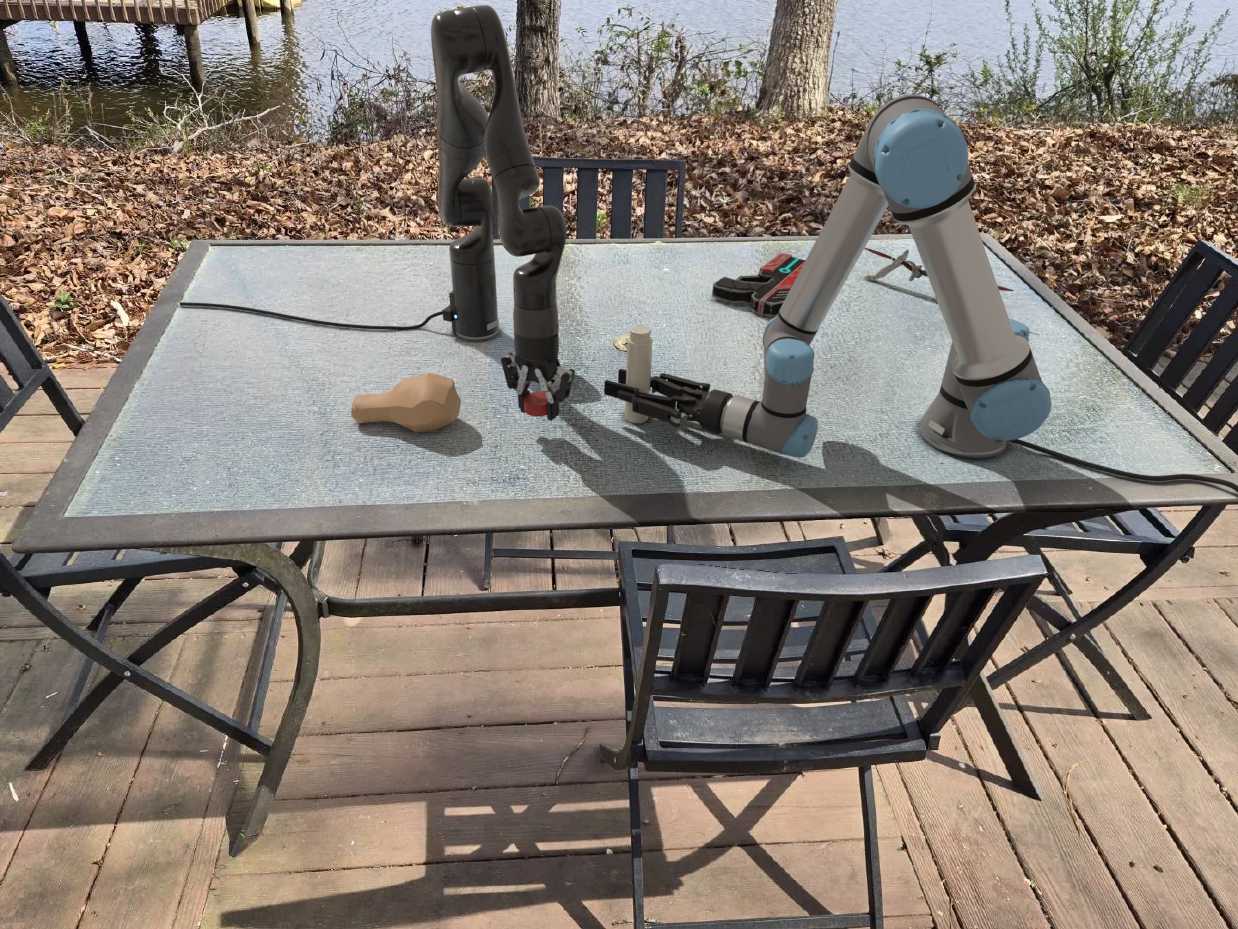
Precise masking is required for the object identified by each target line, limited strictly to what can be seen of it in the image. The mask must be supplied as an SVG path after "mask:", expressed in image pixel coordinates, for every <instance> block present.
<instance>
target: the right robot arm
mask: <svg viewBox="0 0 1238 929" xmlns="http://www.w3.org/2000/svg"><path fill="white" fill-rule="evenodd" d="M968 149H969V148H968V144H967V140H966V138H965V135H964V133H963V132H962V130H961V128H960V127H959V125H958V124H957V123H956V122H955V121H954V120H952V118H950V117H949V116H948V115H947V114H946V113H945V112H944V109H942V107H941V106H940V105H939V104H938V103H937V102H935V101H934V100H932V99H931V98H930V97H927V96H925V95H920V94H903V95H900V96H897V97H894V98H892V99H890V100H888V101H887V102H886V103H884V104H883V105H881V106H880V107H879V108H878V109H877V111H876V112H875V113H874V114H873V116H872V118H871V119H870V120H869V122H868V124H867V126H866V128H865V130H864V132H863V134H862V137H861V139H860V141H859V143H858V145H857V146H856V148H855V151H854V153H853V156H852V157H851V159H850V161H849V163H848V165H847V168H848V169H847V170H848V172H849V178H848V179H847V181H846V183H845V185H844V187H843V188H842V189H841V192H840V194H839V196H838V198H837V200H836V202H835V204H834V205H833V208H832V209H831V212H830V213H829V214H828V217H827V219H826V221H825V223H824V225H823V226H822V229H821V231H820V232H819V234H818V236H817V238H816V240H815V242H814V243H813V246H812V247H811V250H810V251H809V253H808V256H807V257H806V259H805V260H806V261H805V263H804V265H803V266H802V268H801V270H800V272H799V274H798V276H797V278H796V280H795V282H794V284H793V286H792V287H791V289H790V291H789V293H788V295H787V297H786V299H785V301H784V303H783V305H782V307H781V308H780V310H779V313H778V314H777V316H773V318H771V319H770V320H769V321H768V322H767V323H766V325H765V327H764V331H763V332H764V333H763V334H762V346H763V356H764V357H763V370H764V376H763V388H762V397H761V400H755V399H754V398H749V397H745V396H742V395H739V394H732V393H730V392H727V391H724V390H720V389H717V388H715V389H712V390H711V384H710V383H708V382H698V381H694V380H691V379H687V378H683V377H679V376H676V375H672V374H669V373H665V372H661V373H660V374H659V376H657V375H654V376H651V380H650V390H651V393H650V394H647V393H641V392H638V391H639V388H633V387H630V386H626V369H624V368H620V369H618V370H617V372H618V373H617V380H618V381H617V382H615V381H612V380H609V379H605V380H604V383H603V384H604V386H603V390H604V391H603V394H604V395H605V396H608V397H611V398H615V399H618V400H620V401H623V402H625V401H626V402H630V403H632V411H633V412H636V413H639V414H642V415H645V416H649V418H652V419H655V420H659V421H662V422H665V423H668V424H669V425H670V426H673V427H675V428H680V427H682V426H681V424H682V422H685V421H687V422H697V423H698V424H699V426H700V428H701V429H702V430H703V431H705V432H709V433H712V434H716V435H719V436H720V435H723V436H724V437H727V438H731V439H734V440H736V441H739V442H743V443H745V444H750V445H752V446H754V447H759V448H762V449H765V450H767V451H768V450H769V451H771V452H775V453H778V454H779V455H784V456H788V457H792V458H798V459H801V458H805V457H807V456H808V455H809V453H810V452H811V450H812V448H813V446H814V443H815V442H816V437H817V434H818V429H819V426H818V424H819V421H818V419H817V417H815V416H814V415H811V414H810V413H807V403H808V398H809V392H810V387H811V380H812V376H813V374H814V370H815V367H814V361H815V350H814V348H812V346H811V344H812V342H813V340H814V338H815V337H816V334H817V333H818V332H819V329H820V327H821V325H822V324H823V322H824V320H825V319H826V316H827V315H828V313H829V311H830V310H831V308H832V306H833V305H834V303H835V300H836V299H837V297H838V295H839V294H840V292H841V290H842V289H843V287H844V285H845V284H846V281H847V279H848V278H849V276H850V274H851V273H852V271H853V269H854V267H855V265H856V263H857V262H858V260H859V259H860V257H861V256H862V253H863V251H864V250H865V249H864V248H866V246H867V244H868V242H869V241H870V239H871V237H872V236H873V234H874V232H875V230H876V229H877V226H878V225H879V223H880V221H881V219H882V218H883V216H884V214H885V213H886V210H887V209H889V210H890V213H891V215H892V217H893V220H894V221H895V222H896V223H899V224H901V225H902V224H903V225H905V226H908V228H909V231H910V234H911V236H912V239H913V241H914V244H915V247H916V249H917V251H918V254H919V257H920V260H921V263H922V266H923V268H924V270H926V273H927V276H928V277H927V279H928V281H929V283H930V286H931V289H932V292H933V293H934V296H935V300H936V299H937V300H936V302H937V304H938V307H939V309H940V312H941V315H942V317H943V320H944V323H945V325H946V328H947V331H948V333H949V336H950V338H951V340H952V341H951V345H950V350H949V353H948V357H947V361H946V365H945V369H944V373H943V375H942V376H943V377H942V380H941V384H940V388H939V392H938V393H937V395H936V396H935V398H934V399H933V401H932V402H931V404H930V405H929V406H928V408H927V409H926V411H925V412H924V414H923V416H922V417H921V420H920V424H919V427H918V428H919V434H920V436H921V437H922V439H923V440H924V441H925V442H926V443H927V444H928V445H930V446H931V447H933V448H935V449H937V450H939V451H941V452H942V453H946V454H949V455H952V456H954V457H959V458H964V459H973V460H979V459H980V460H982V459H983V460H984V459H989V458H994V457H996V456H999V455H1000V454H1002V453H1003V452H1005V451H1006V448H1007V444H1008V443H1012V444H1016V445H1018V446H1021V447H1025V448H1027V449H1031V450H1034V451H1037V452H1039V453H1042V454H1046V455H1049V456H1051V457H1054V458H1058V459H1061V460H1064V461H1065V462H1066V461H1067V462H1069V463H1073V464H1076V465H1079V466H1082V467H1086V468H1089V469H1092V470H1096V471H1100V472H1104V473H1108V474H1111V475H1116V476H1120V477H1125V478H1129V479H1134V480H1140V481H1147V482H1148V481H1149V482H1168V481H1169V482H1170V481H1175V480H1176V481H1177V480H1191V481H1196V482H1197V481H1199V482H1205V483H1211V484H1217V485H1221V486H1225V487H1227V488H1230V489H1232V490H1233V491H1235V492H1236V493H1238V484H1236V483H1234V482H1233V481H1232V482H1231V481H1229V480H1225V479H1222V478H1217V477H1211V476H1205V475H1198V474H1190V473H1175V474H1169V475H1147V474H1140V473H1134V472H1129V471H1124V470H1120V469H1116V468H1112V467H1108V466H1104V465H1100V464H1097V463H1094V462H1089V461H1086V460H1083V459H1079V458H1077V457H1073V456H1070V455H1067V454H1065V453H1061V452H1058V451H1055V450H1051V449H1050V448H1046V447H1043V446H1040V445H1037V444H1034V443H1031V442H1028V441H1026V440H1022V438H1025V437H1027V436H1029V435H1031V434H1033V433H1035V432H1036V431H1037V430H1038V429H1039V428H1041V426H1043V424H1044V422H1046V420H1047V419H1048V417H1049V416H1050V413H1051V411H1052V405H1053V404H1052V397H1051V392H1050V390H1049V388H1048V386H1046V384H1045V383H1044V382H1043V379H1042V378H1041V375H1040V372H1039V369H1038V366H1037V363H1036V361H1035V358H1034V354H1033V351H1032V348H1031V346H1030V343H1029V342H1030V338H1029V337H1030V334H1031V333H1030V329H1029V327H1028V326H1027V325H1026V324H1024V323H1023V322H1020V321H1018V320H1016V319H1012V318H1009V315H1008V311H1007V308H1006V306H1005V303H1004V300H1003V298H1002V294H1001V292H1000V291H1001V290H999V289H998V286H999V285H998V282H997V280H996V276H995V274H994V271H993V268H992V265H991V263H990V259H989V256H988V254H987V251H986V249H985V245H984V242H983V239H982V237H981V233H980V231H979V227H978V225H977V221H976V219H975V217H974V216H975V215H974V214H973V210H972V207H971V205H970V200H969V199H970V198H971V197H972V195H973V193H974V191H975V190H976V182H975V179H974V176H973V172H972V170H971V167H970V164H969V152H968ZM888 207H889V208H888ZM655 393H658V394H655ZM659 394H660V395H659Z"/></svg>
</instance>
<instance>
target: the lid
mask: <svg viewBox="0 0 1238 929" xmlns="http://www.w3.org/2000/svg"><path fill="white" fill-rule="evenodd" d="M547 402H548V400H547V397H546V394H545V392H543V391H535V392H534V391H533V392H530V394H528V395H526V396H525V397H524V411H525V413H524V414H526V415H528V416H531V417H535V418H536V417H538V418H540V417H547Z"/></svg>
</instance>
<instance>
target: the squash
mask: <svg viewBox="0 0 1238 929" xmlns="http://www.w3.org/2000/svg"><path fill="white" fill-rule="evenodd" d="M461 404H462V399H461V398H460V395H459V394H458V392H457V388H456V385H455V381H454V379H453V378H449V377H447V376H443V375H441V374H437V373H431V372H427V373H425V374H424V373H423V374H420V375H417V376H414V377H413V376H412V377H407V378H403V379H402V380H400V381H399V382H397V383H396V384H395V386H393V388H392V389H390V390H388V391H386V392H384V393H375V394H357V395H354V396H353V401H352V404H351V409H350V410H351V412H350V414H351V416H350V417H352V419H353V420H354V421H355V422H356V424H366V423H372V422H387V423H394V424H398V425H400V426H402V427H404V428H406V429H408V430H410V431H412V432H415V433H422V432H423V433H425V432H435V431H438V430H439V429H442V428H444V427H445V426H447V425H449V424H452V423H453V422H455V421H456V419H457V418H458V416H459V415H460V409H461Z"/></svg>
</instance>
